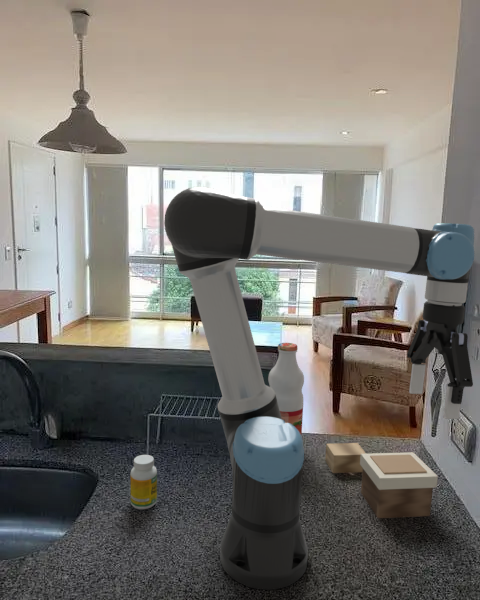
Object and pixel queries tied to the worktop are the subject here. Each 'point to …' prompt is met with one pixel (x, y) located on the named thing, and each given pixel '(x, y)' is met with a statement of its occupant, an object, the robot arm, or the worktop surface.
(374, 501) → the box
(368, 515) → the worktop surface
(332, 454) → the block
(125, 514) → the worktop surface
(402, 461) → the lid
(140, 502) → the supplement bottle
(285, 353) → the fruit juice
